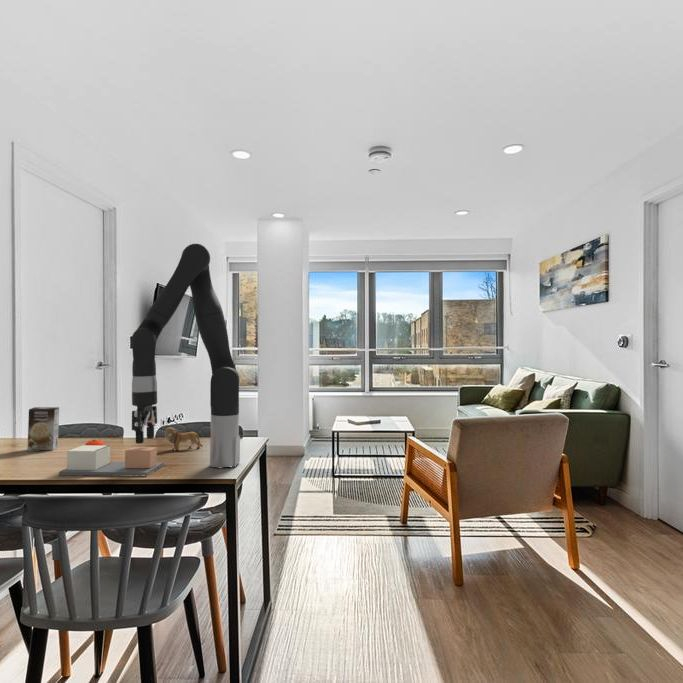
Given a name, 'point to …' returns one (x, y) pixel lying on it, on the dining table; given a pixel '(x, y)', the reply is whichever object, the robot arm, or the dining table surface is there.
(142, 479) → the dining table surface
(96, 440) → the clementine
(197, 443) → the lion figurine
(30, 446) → the coffee box
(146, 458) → the stub
